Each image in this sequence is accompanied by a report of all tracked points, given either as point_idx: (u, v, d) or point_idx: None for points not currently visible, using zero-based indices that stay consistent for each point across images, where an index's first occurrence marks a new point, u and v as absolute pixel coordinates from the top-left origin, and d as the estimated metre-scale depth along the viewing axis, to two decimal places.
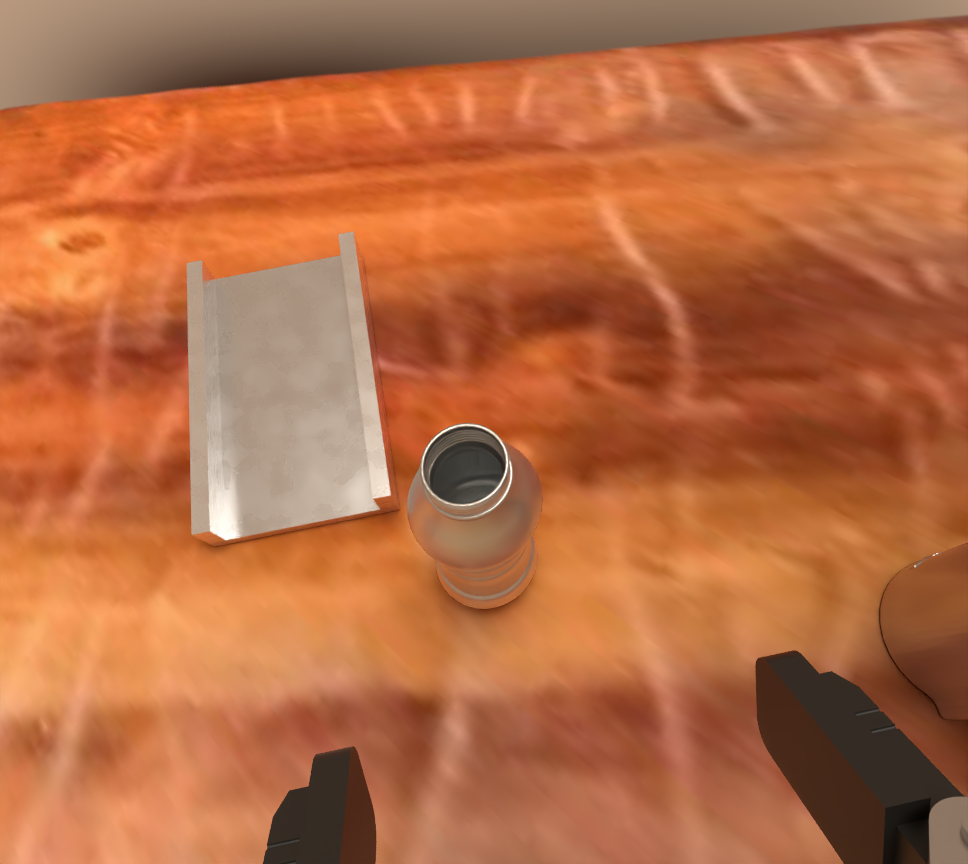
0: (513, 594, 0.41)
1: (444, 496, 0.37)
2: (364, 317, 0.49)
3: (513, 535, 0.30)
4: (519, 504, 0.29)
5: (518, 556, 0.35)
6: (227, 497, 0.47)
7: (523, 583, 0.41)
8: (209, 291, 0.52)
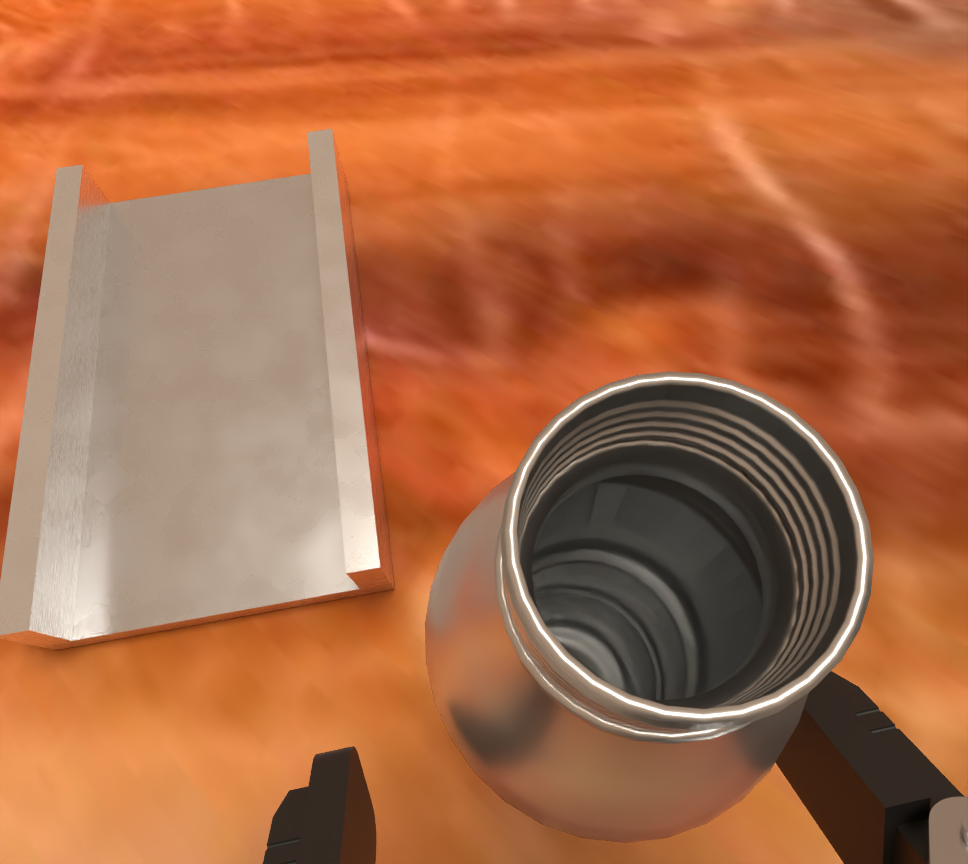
0: None
1: None
2: (344, 256, 0.29)
3: (768, 752, 0.09)
4: None
5: None
6: (85, 560, 0.26)
7: None
8: (93, 215, 0.32)
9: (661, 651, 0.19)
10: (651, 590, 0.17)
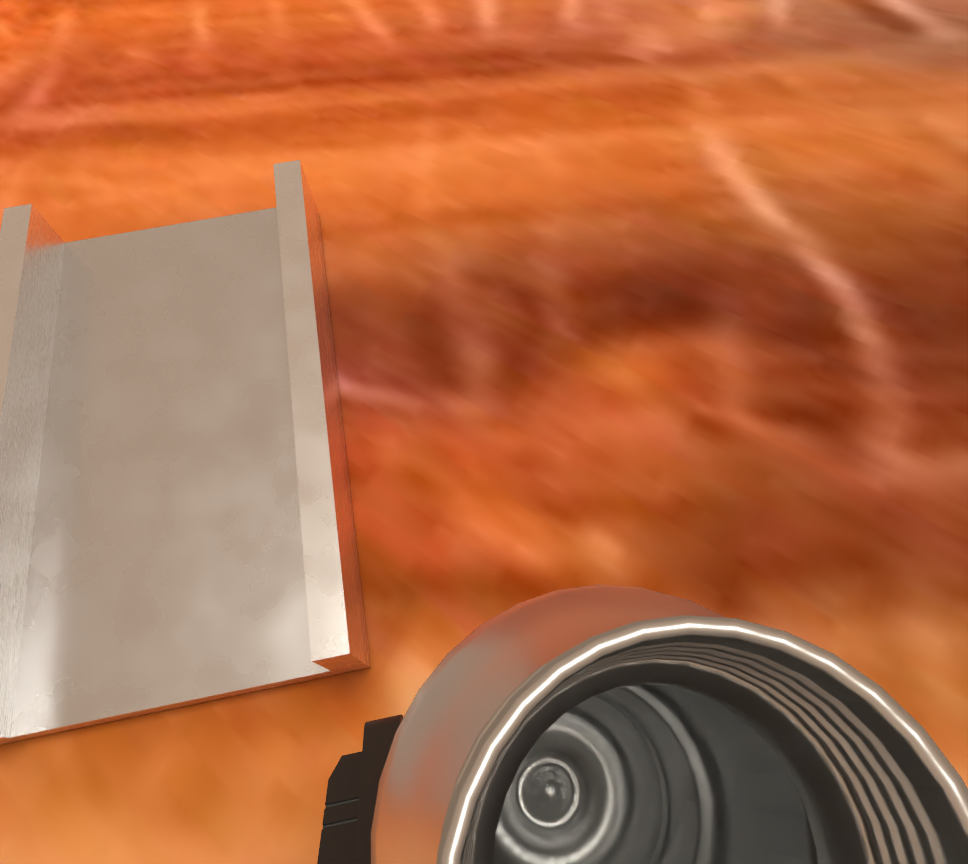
0: None
1: None
2: (311, 299, 0.27)
3: None
4: None
5: None
6: (27, 643, 0.24)
7: None
8: (44, 258, 0.30)
9: (668, 767, 0.16)
10: (656, 712, 0.14)
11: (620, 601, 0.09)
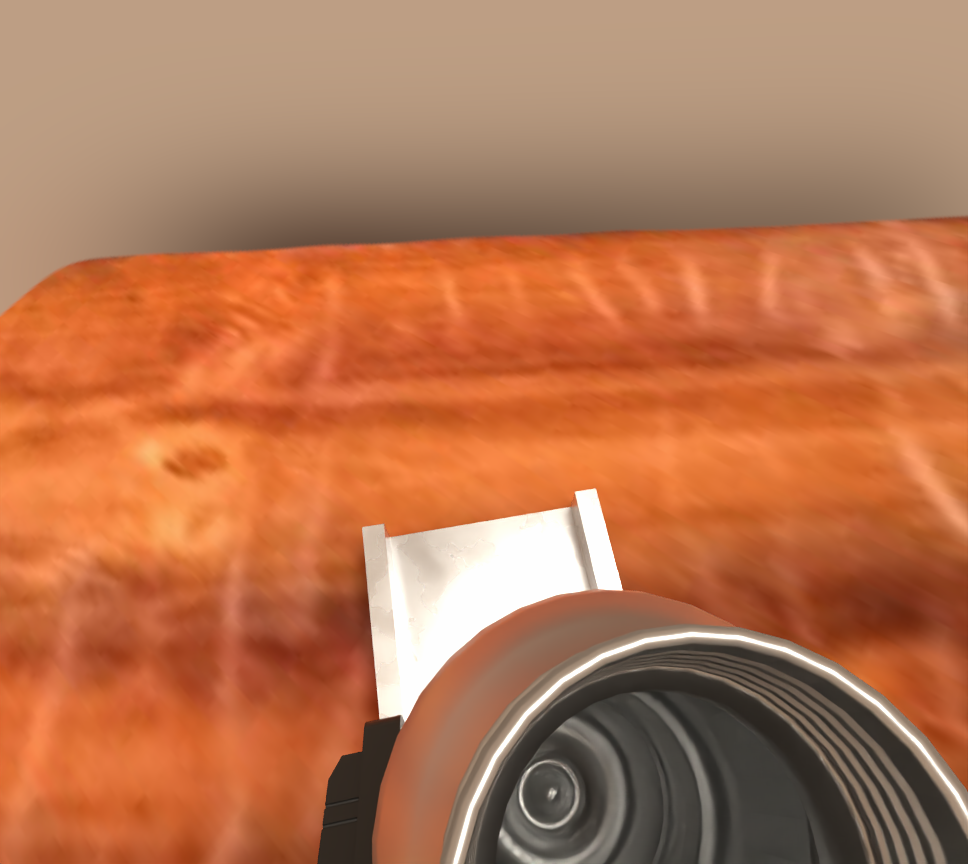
0: None
1: None
2: None
3: None
4: None
5: None
6: None
7: None
8: (391, 566, 0.37)
9: (669, 770, 0.16)
10: (657, 715, 0.14)
11: (622, 606, 0.09)
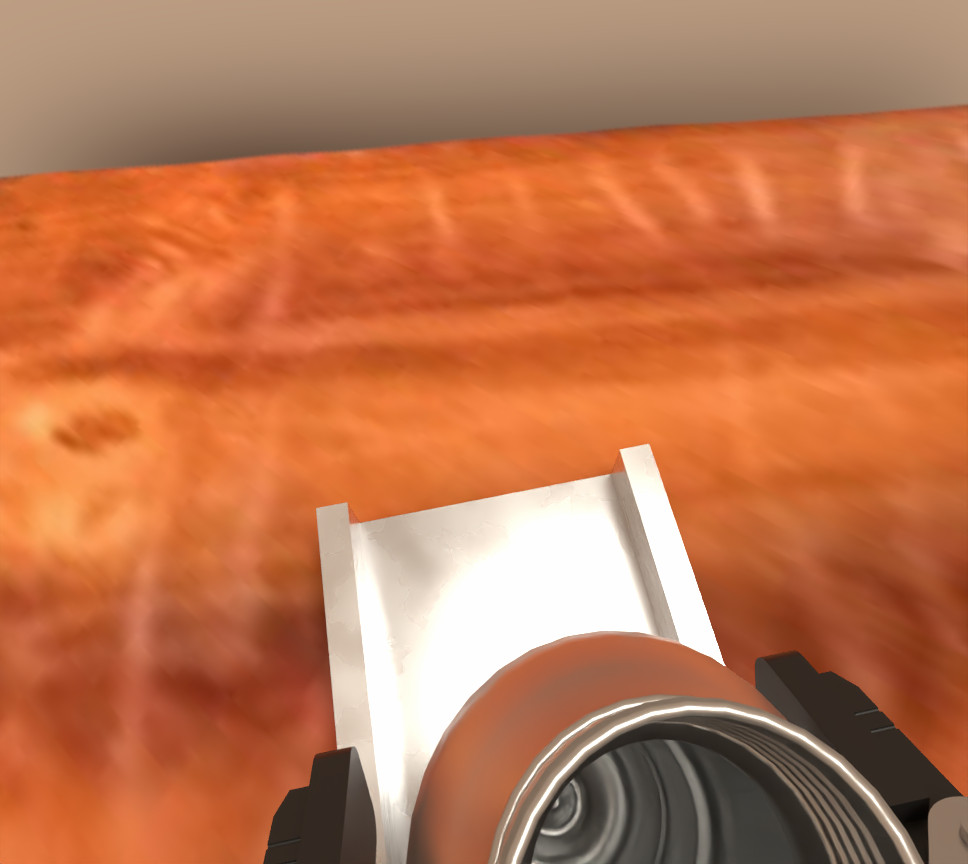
0: None
1: None
2: (717, 652, 0.23)
3: None
4: None
5: None
6: None
7: None
8: (359, 563, 0.26)
9: (666, 781, 0.17)
10: None
11: (624, 651, 0.10)
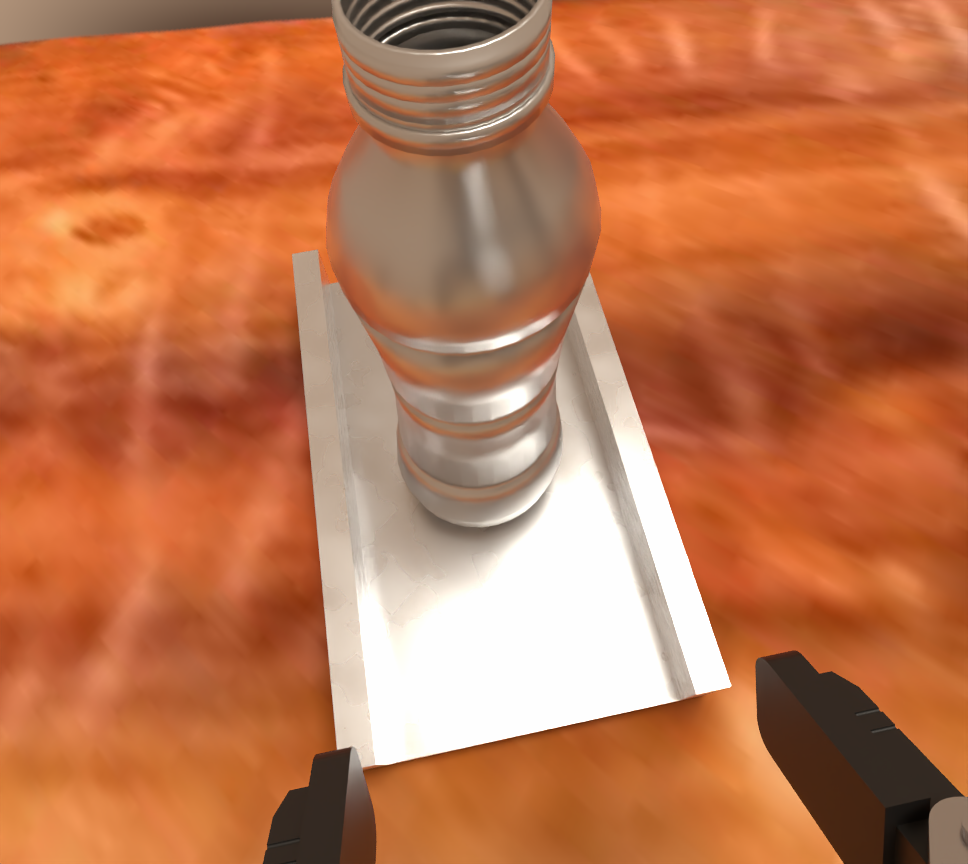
0: (527, 491, 0.24)
1: None
2: (612, 344, 0.28)
3: (551, 244, 0.14)
4: (564, 172, 0.13)
5: (545, 375, 0.19)
6: (383, 673, 0.25)
7: (544, 473, 0.24)
8: (328, 301, 0.31)
9: None
10: None
11: None
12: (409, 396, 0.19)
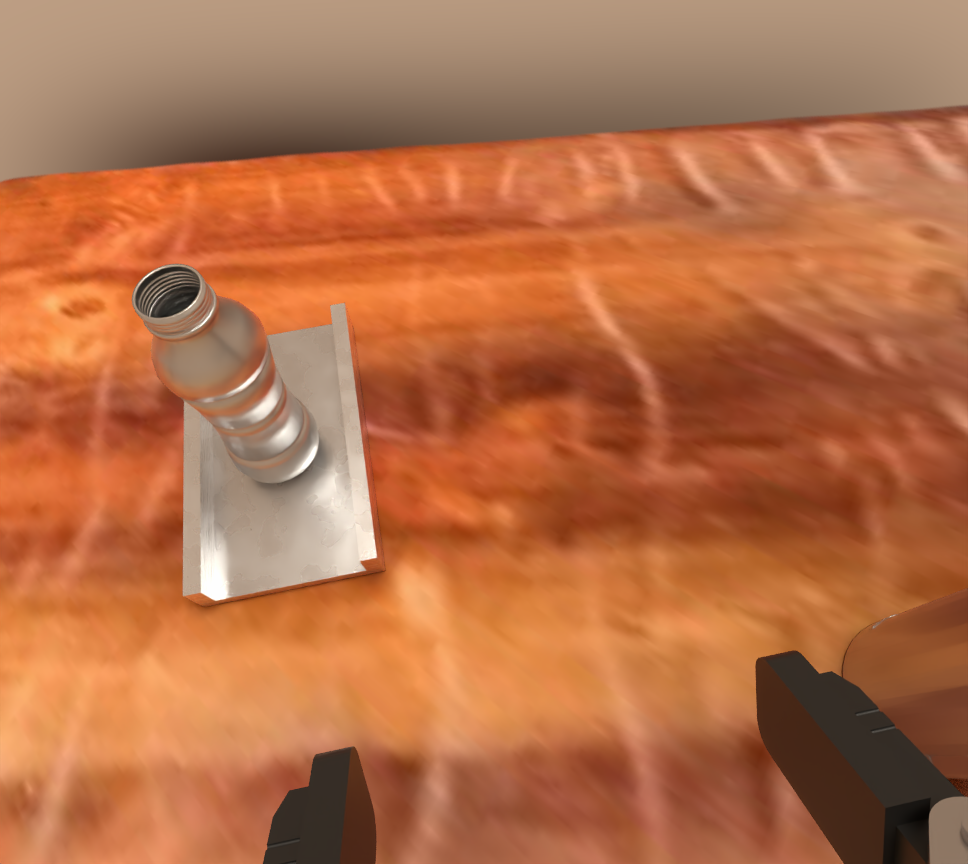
0: (288, 463, 0.48)
1: None
2: (354, 385, 0.52)
3: (228, 364, 0.37)
4: (232, 338, 0.37)
5: (265, 408, 0.42)
6: (218, 558, 0.49)
7: (297, 454, 0.48)
8: None
9: None
10: None
11: None
12: None
